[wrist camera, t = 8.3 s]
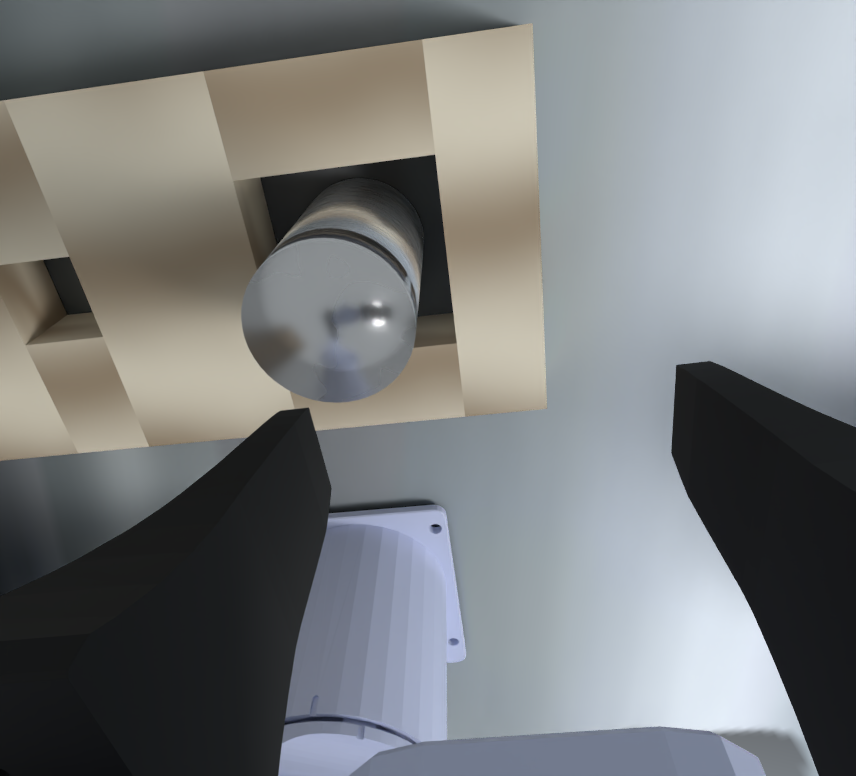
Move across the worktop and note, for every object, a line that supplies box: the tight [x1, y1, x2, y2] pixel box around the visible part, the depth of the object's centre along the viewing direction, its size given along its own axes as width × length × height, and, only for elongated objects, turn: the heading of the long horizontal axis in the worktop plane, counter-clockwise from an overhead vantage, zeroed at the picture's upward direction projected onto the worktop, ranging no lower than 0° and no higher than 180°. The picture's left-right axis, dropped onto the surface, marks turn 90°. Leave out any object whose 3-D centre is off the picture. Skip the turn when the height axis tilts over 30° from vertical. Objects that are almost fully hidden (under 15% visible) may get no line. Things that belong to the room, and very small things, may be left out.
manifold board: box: [0, 24, 547, 461], centre depth 20 cm, size 11×20×2 cm, turn 97°
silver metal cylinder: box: [241, 178, 424, 403], centre depth 17 cm, size 4×4×7 cm
